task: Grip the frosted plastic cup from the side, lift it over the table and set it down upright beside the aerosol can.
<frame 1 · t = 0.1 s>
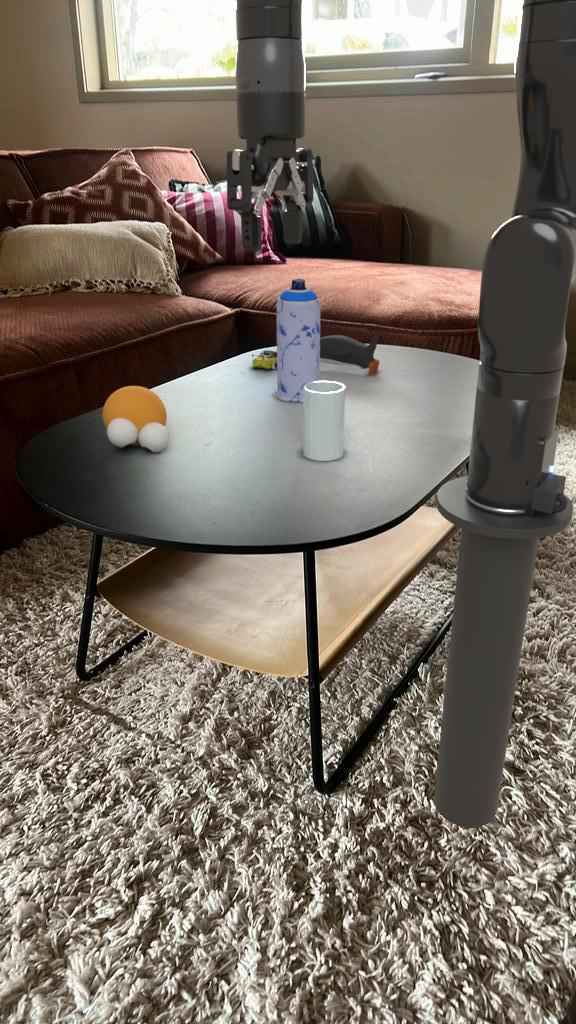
hand: (273, 247, 90), 30 cm above the table, tool pointing down, fingers open, 8 cm apart
toy: (142, 442, 116), on the table
figurine: (340, 370, 151), on the table
plastic cup: (323, 453, 111), on the table
toy car: (270, 365, 155), on the table
aerosol can: (298, 396, 136), on the table
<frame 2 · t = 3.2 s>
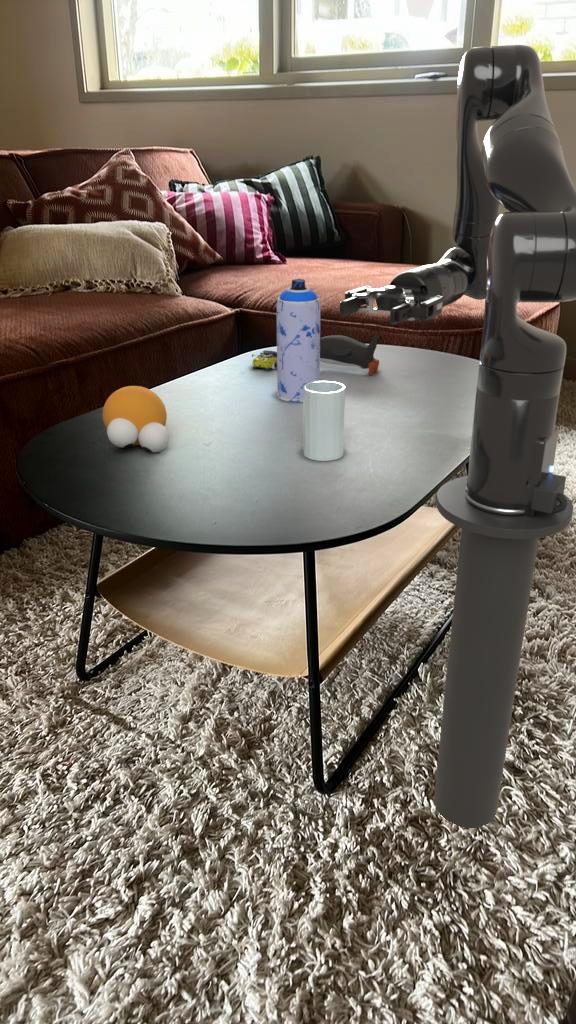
hand: (366, 313, 110), 19 cm above the table, tool horizontal, fingers open, 8 cm apart
nothing on the table moved.
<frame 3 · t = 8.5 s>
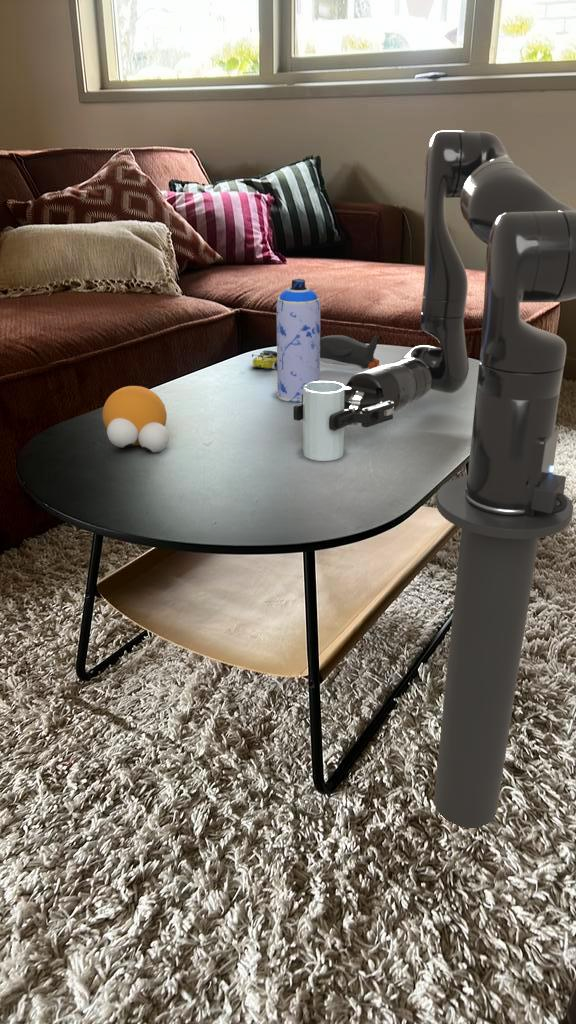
hand: (313, 418, 106), 6 cm above the table, tool horizontal, fingers closed on plastic cup, 6 cm apart
plastic cup: (323, 453, 111), on the table, touching gripper
everything else where it was.
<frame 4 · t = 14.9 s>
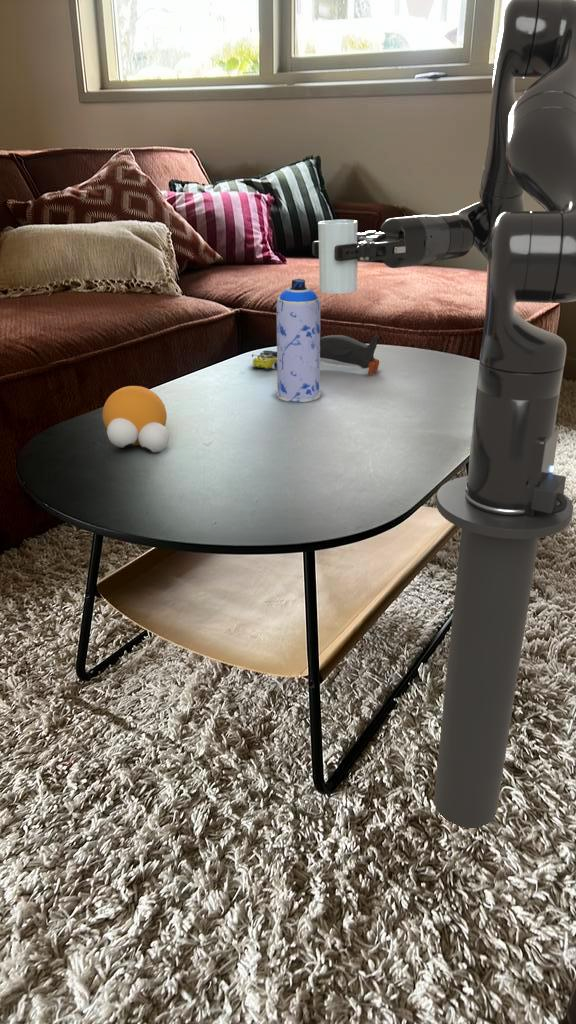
hand: (324, 251, 115), 26 cm above the table, tool horizontal, fingers closed on plastic cup, 6 cm apart
plastic cup: (338, 290, 118), point 20 cm above the table, touching gripper
everything else where it was.
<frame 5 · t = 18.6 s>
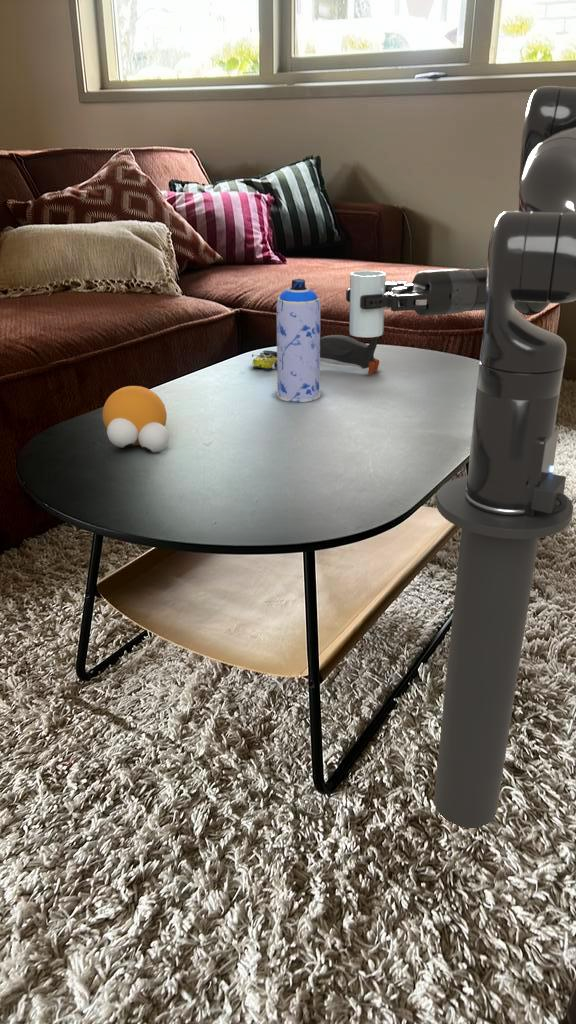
hand: (354, 298, 128), 17 cm above the table, tool horizontal, fingers closed on plastic cup, 6 cm apart
plastic cup: (366, 333, 131), point 11 cm above the table, touching gripper
everything else where it was.
when the fingers open (6 cm above the table, at t = 21.6 s): plastic cup stays where it is, on the table.
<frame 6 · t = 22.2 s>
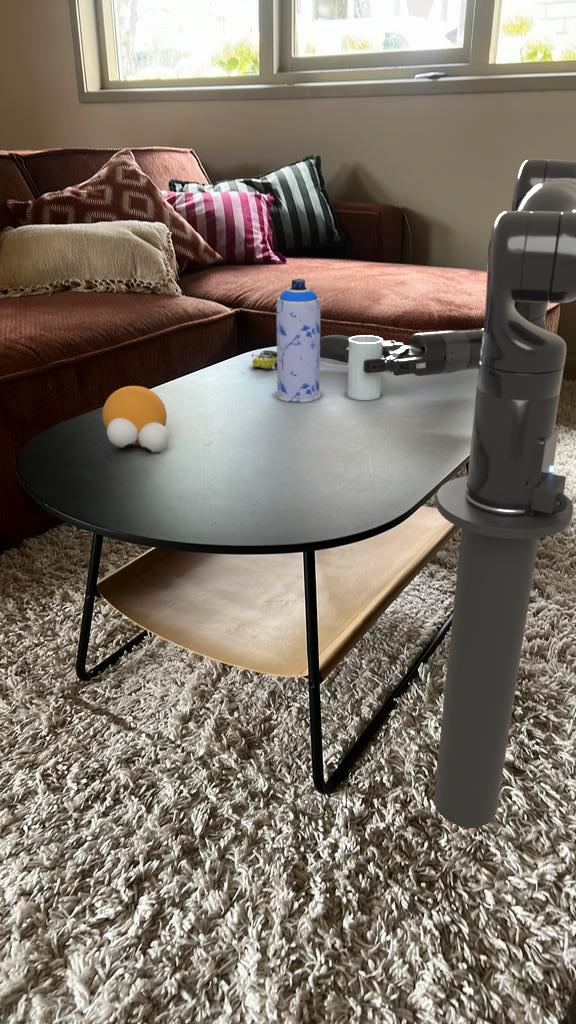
hand: (354, 360, 132), 6 cm above the table, tool horizontal, fingers open, 8 cm apart
plastic cup: (363, 395, 136), on the table
everything else where it was.
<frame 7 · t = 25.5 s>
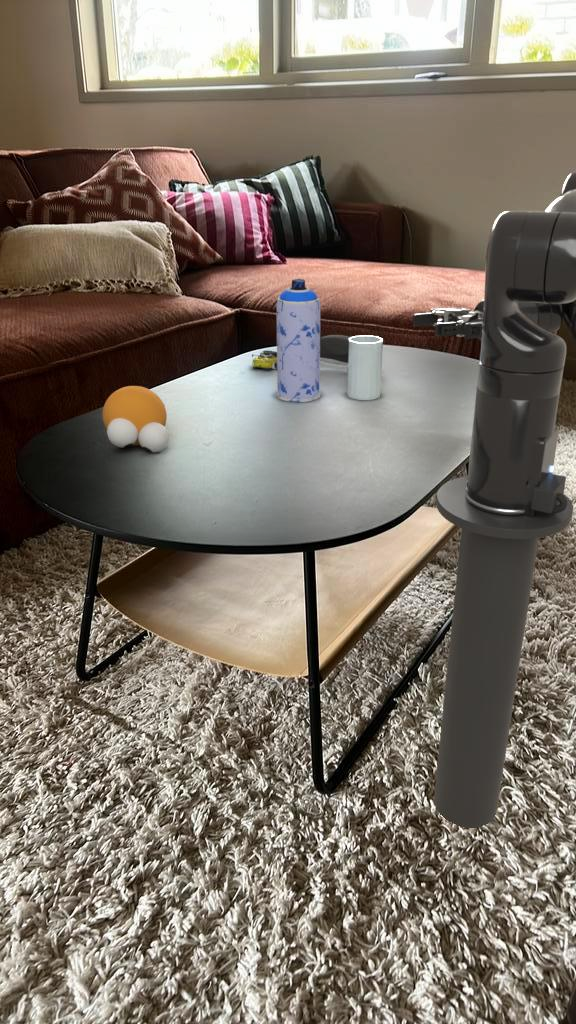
hand: (424, 325, 133), 12 cm above the table, tool horizontal, fingers open, 8 cm apart
nothing on the table moved.
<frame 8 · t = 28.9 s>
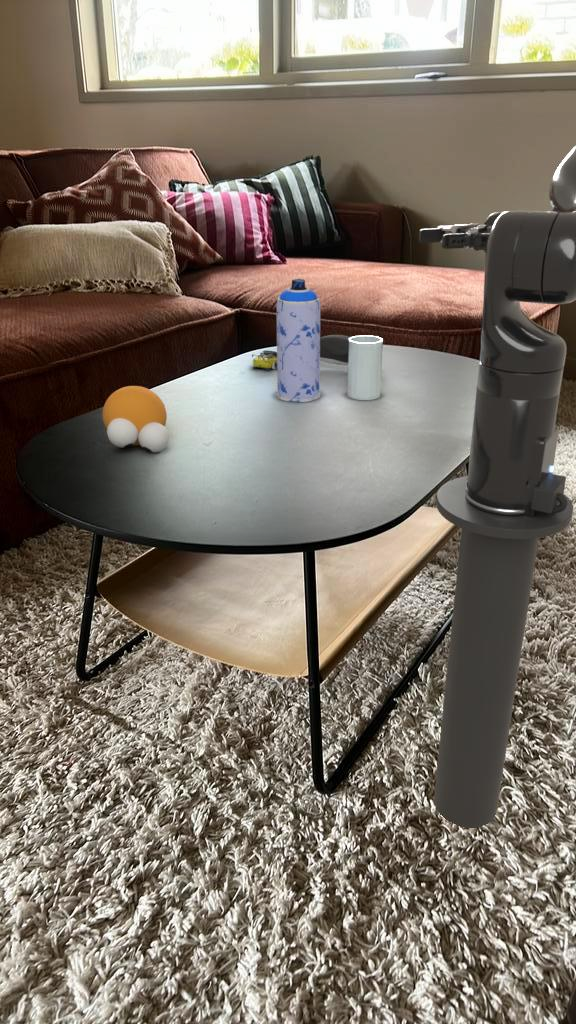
hand: (431, 238, 127), 26 cm above the table, tool horizontal, fingers open, 8 cm apart
nothing on the table moved.
at the end: plastic cup 11.7 cm from the aerosol can (horizontally); plastic cup tilted 0°; plastic cup on the table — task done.
